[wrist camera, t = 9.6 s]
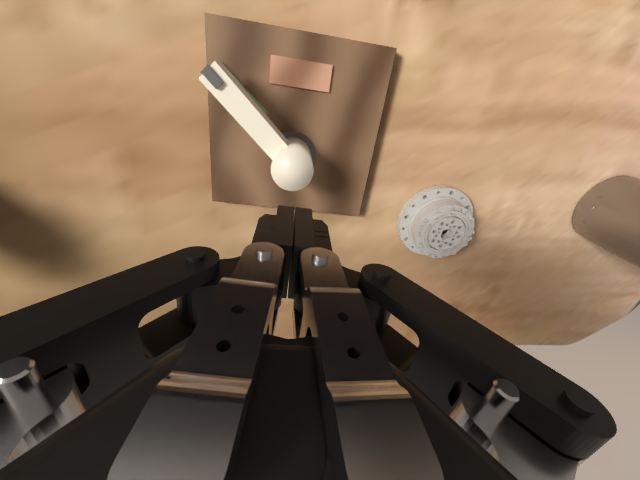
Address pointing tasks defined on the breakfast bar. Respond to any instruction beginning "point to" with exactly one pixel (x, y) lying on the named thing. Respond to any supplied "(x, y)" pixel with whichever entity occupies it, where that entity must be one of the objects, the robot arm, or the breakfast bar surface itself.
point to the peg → (261, 129)
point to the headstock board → (297, 112)
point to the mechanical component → (436, 221)
